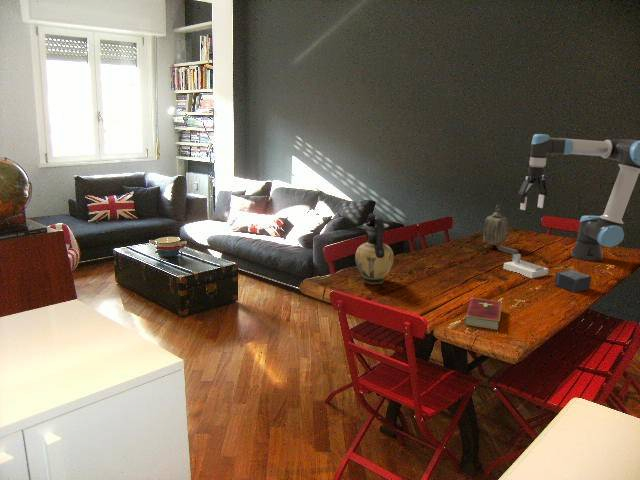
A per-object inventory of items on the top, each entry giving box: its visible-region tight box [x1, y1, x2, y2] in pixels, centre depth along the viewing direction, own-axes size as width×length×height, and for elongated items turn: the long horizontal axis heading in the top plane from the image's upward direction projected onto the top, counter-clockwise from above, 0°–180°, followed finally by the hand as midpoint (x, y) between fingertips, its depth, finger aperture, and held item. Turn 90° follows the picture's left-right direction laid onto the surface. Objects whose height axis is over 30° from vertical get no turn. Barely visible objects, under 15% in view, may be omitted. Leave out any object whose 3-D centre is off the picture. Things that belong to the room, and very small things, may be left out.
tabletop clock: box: [482, 203, 509, 249], centre depth 302 cm, size 14×9×25 cm, turn 144°
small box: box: [554, 269, 593, 293], centre depth 239 cm, size 11×6×10 cm
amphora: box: [354, 213, 394, 285], centre depth 237 cm, size 18×17×30 cm
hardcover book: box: [464, 297, 503, 330], centre depth 202 cm, size 12×21×4 cm, turn 159°
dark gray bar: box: [497, 245, 545, 271], centre depth 264 cm, size 24×6×6 cm, turn 32°
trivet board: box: [502, 259, 549, 279], centre depth 261 cm, size 16×12×3 cm
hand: (531, 208), depth 269 cm, fingers open, 13 cm apart
